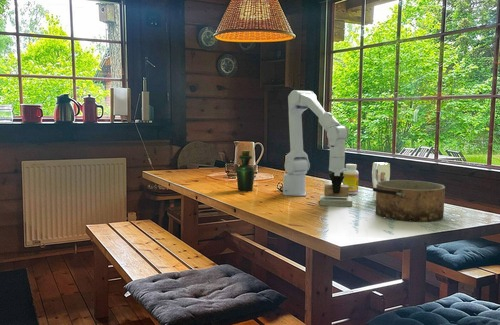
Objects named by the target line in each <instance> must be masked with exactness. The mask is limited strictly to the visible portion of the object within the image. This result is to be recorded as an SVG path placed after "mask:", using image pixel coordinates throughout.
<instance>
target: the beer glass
mask: <svg viewBox="0 0 500 325" xmlns="http://www.w3.org/2000/svg"><path fill="white" fill-rule="evenodd" d="M390 177H391V163H389V162H380V161H379V162H378V161H377V162H373V163H372V170H371V178H372V179H371V180H372V187H373V188H376V184H377V182H380V181H388V180H390ZM373 188H372V189H373ZM371 199H372V201H375V202H376V192H375V191H373V190H372V198H371Z"/></svg>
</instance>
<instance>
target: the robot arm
mask: <svg viewBox="0 0 500 325" xmlns="http://www.w3.org/2000/svg"><path fill="white" fill-rule="evenodd" d="M287 103H288V127H289V128H288V129H289V146H290V148H289V149H290V150H289V152H288V153H287V154H286V155H285V161H284V170H285V172H286V173H284V174H283V178H282V179H283V180H282V182H283V183H282V184H283V186H282V195H283V196H293V197H294V196H296V197H302V196H303V197H305V196H307V192H306V174H308V171H309V170H310V167H311V163H310V161H309V155H308V154H307V153H306V152H305V151H304V139H303V121H302V118H303V117H302V114H303V113H304V111H306V110H308V109H310V110H311V111H312V112H313V113H314V115H316V117H318V123H319V124H320V125H321V127H322V128H323V130H324V131H325V132H326V137H327V139H328V145H329V165H328V171H329V173H328V174H329V175H328V177H329V179H330V181H331V185H332V187H333V193H339V192H340V187H341V185H342V184H343V179H344V176H343V174H344V173H343V171H347V169H346V167H345V162H346V161H345V159H346V140H347V139H348V138H349V135H350V134H349V133H350V132H349V129H348V128H347V127H348V126H346V125H342V124H341V123H340V122H339V121H337V119H336V117H334V114H333V113H331V112H327V111H325V109H324V108H323V106H322V105H321V103H320V102H319V100H318V99H317V95H316V93H314V91H313V90H297V89H294V90H292V91H290V93H289V94H288V96H287Z"/></svg>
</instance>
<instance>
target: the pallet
mask: <svg viewBox="0 0 500 325" xmlns="http://www.w3.org/2000/svg"><path fill="white" fill-rule="evenodd" d="M348 193H349V187H348V185H343V184H341V187H340V192H339V193H333V187H332V184H324V193H323V196H324V197H348V196H349V195H348Z"/></svg>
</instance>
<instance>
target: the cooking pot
mask: <svg viewBox="0 0 500 325" xmlns="http://www.w3.org/2000/svg"><path fill="white" fill-rule="evenodd" d="M373 191H375V192H376V201H375V213H376V215H377V216H379V217H381V218H384V217H385V218H384V219H388V218H389V220H392V219H393V220H394V221H399V222H409V223H432V221H433V222H436V221H441V220H442V219H443V218H444V215H445V214H444V213H445V211H444V210H445V196H446V195H445V193H446V185H445V184H443V183H437V182H431V181H421V180H408V179H406V180H404V179H391V180H390V179H389V180H388V181H380V182H377V184H376V188H372V192H373Z"/></svg>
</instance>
